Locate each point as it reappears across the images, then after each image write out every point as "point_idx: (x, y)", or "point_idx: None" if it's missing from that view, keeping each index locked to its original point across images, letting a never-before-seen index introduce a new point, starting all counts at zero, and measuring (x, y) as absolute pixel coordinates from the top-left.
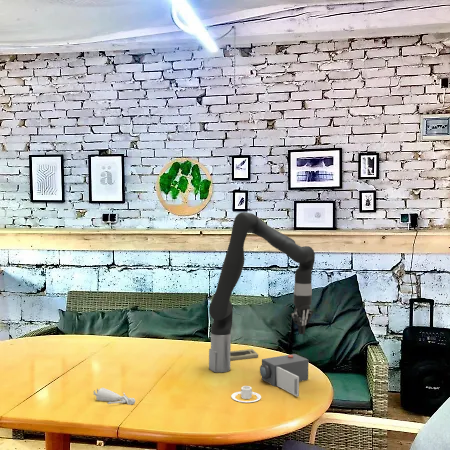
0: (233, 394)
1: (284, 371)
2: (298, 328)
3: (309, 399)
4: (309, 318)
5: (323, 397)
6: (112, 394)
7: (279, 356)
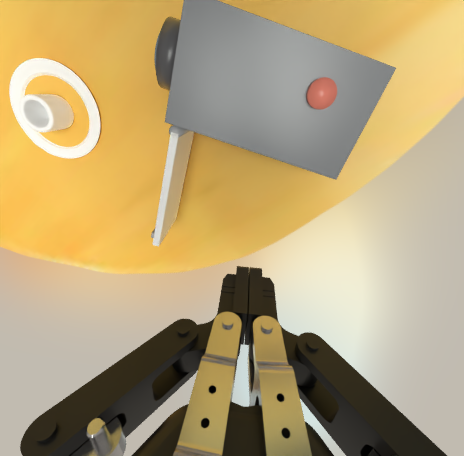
0: (25, 67)
1: (163, 180)
2: (221, 295)
3: (189, 239)
4: (327, 414)
5: (224, 254)
6: None
7: (295, 34)
